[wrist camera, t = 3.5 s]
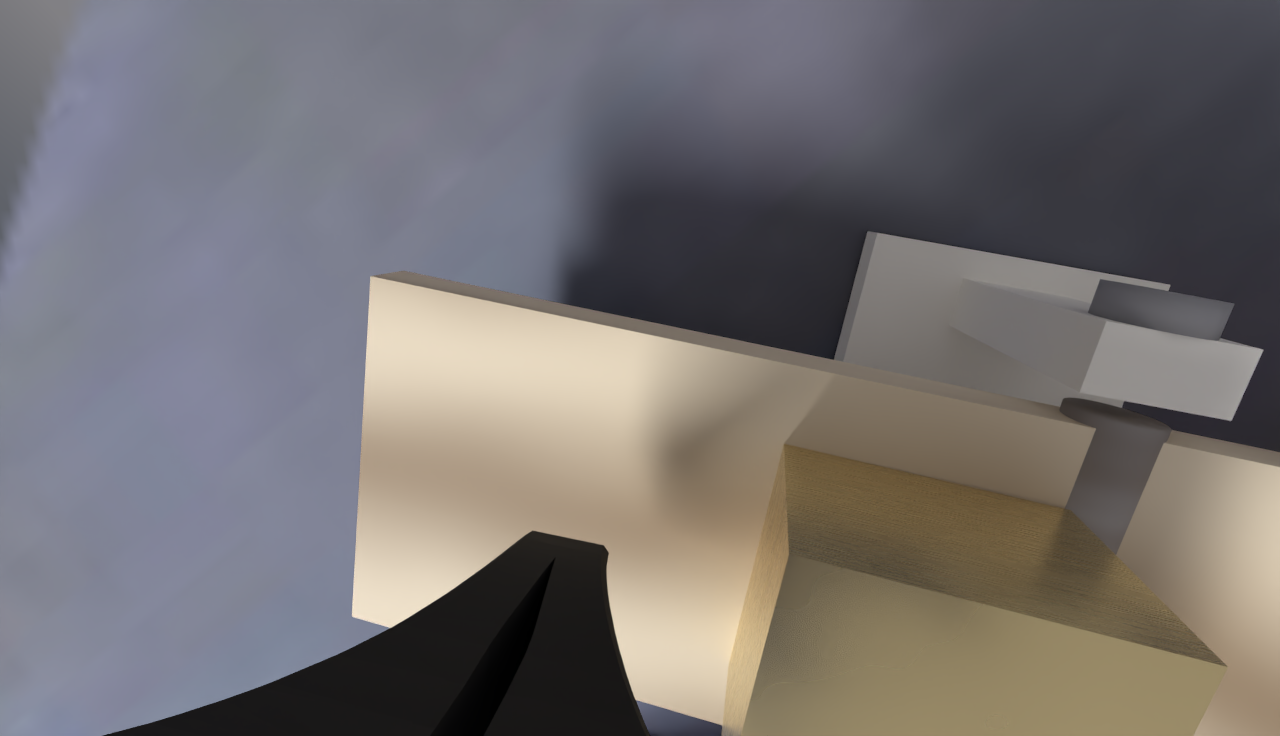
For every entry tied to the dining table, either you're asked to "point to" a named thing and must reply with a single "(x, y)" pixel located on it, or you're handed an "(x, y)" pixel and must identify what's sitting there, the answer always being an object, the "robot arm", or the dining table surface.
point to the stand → (1040, 330)
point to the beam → (755, 476)
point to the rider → (948, 618)
